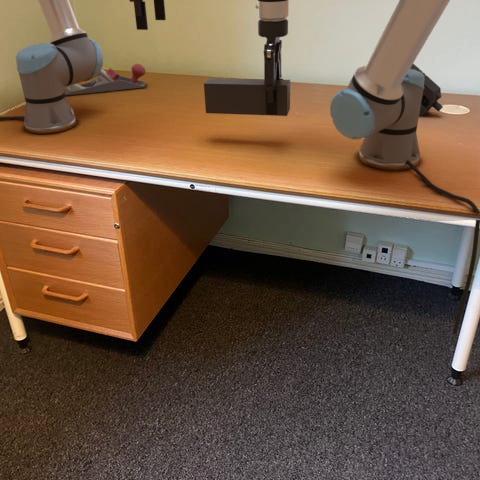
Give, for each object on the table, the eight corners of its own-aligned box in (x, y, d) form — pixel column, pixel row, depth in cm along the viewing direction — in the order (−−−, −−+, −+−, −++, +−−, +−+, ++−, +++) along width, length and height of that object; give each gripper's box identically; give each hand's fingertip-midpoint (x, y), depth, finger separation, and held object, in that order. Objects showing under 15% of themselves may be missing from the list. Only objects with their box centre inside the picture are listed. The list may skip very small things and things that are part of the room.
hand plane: (62, 90, 197) (53, 48, 189) (145, 82, 205) (140, 41, 197) (62, 96, 191) (54, 53, 184) (148, 87, 199) (143, 45, 191)
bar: (289, 109, 146) (290, 79, 142) (287, 116, 141) (287, 85, 137) (211, 107, 151) (209, 78, 146) (205, 113, 146) (203, 83, 142)
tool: (380, 92, 178) (407, 55, 167) (423, 130, 174) (453, 95, 163) (371, 97, 174) (398, 59, 163) (415, 136, 170) (446, 100, 159)
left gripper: (146, -70, 140) (154, 16, 151) (106, -66, 120) (119, 33, 131) (173, -71, 139) (180, 16, 150) (137, -67, 118) (148, 34, 129)
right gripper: (264, 13, 141) (265, 100, 153) (250, 25, 125) (252, 120, 137) (293, 13, 139) (291, 100, 151) (282, 25, 124) (281, 122, 136)
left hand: (151, 24), depth 140 cm, fingers open, 13 cm apart
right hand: (273, 110), depth 144 cm, fingers closed on bar, 6 cm apart
